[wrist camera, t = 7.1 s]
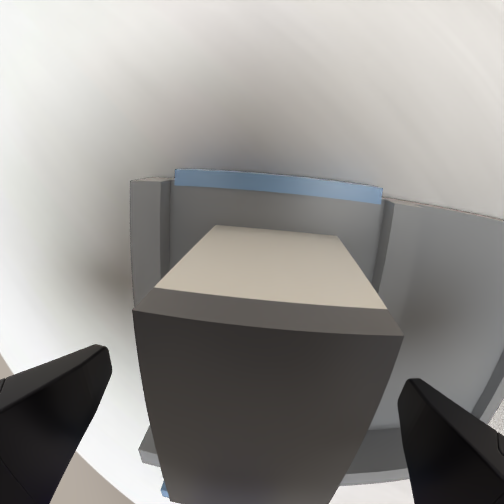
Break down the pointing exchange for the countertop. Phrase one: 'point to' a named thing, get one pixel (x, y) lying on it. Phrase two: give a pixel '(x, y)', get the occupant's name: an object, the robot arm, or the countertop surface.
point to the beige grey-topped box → (262, 366)
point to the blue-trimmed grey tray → (374, 268)
